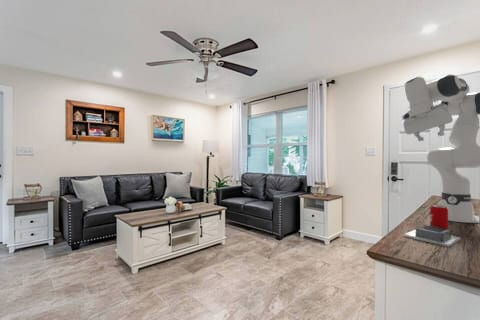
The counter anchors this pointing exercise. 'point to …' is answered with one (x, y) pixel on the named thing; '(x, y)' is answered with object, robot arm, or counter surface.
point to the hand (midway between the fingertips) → (431, 138)
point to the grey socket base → (433, 235)
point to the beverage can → (439, 216)
